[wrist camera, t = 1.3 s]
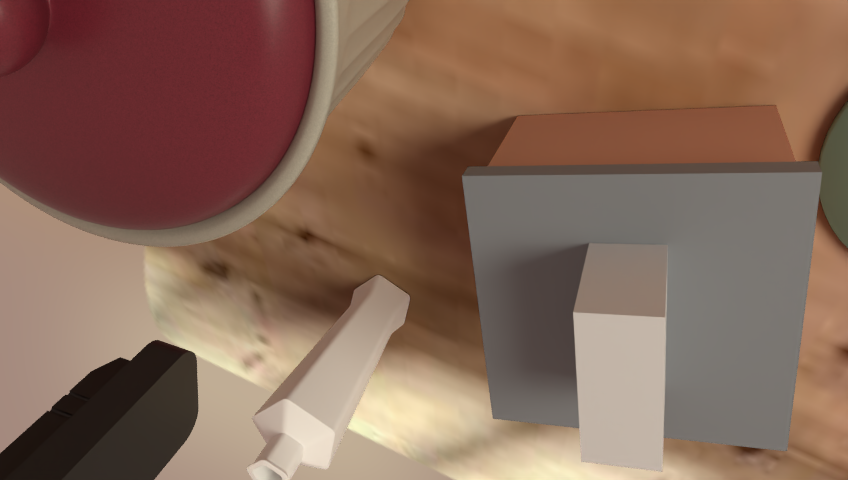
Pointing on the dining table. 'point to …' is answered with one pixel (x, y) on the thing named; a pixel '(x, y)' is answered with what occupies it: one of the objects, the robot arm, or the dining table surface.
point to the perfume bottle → (327, 384)
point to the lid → (644, 299)
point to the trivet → (836, 175)
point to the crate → (647, 137)
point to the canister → (173, 106)
